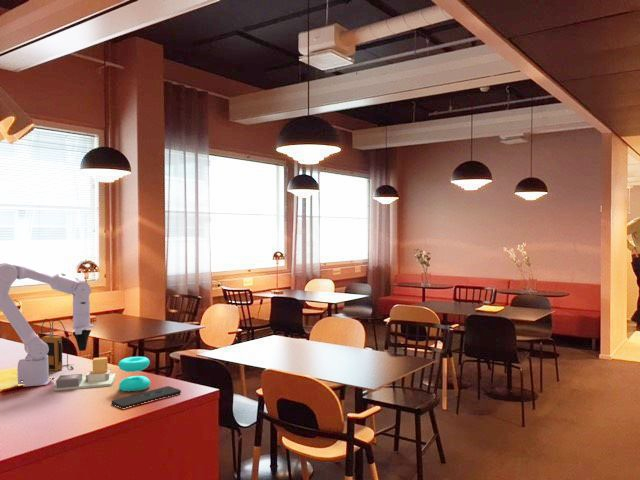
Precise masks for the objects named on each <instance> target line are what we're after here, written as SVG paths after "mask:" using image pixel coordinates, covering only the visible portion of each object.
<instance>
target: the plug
mask: <svg viewBox="0 0 640 480" xmlns="http://www.w3.org/2000/svg"><path fill="white" fill-rule="evenodd" d="M108 363H109V361H108V357H106V356H103V357H102V356H101V357H94V358H93V359H92V371H93V374H102V373H106V372H108V370H109V367H108V365H109V364H108Z"/></svg>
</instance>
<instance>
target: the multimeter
mask: <svg viewBox="0 0 640 480" xmlns="http://www.w3.org/2000/svg"><path fill="white" fill-rule="evenodd" d="M45 321H48V322H49V335H45V336H44V335H43V326H44V323H45ZM55 321H56V319H53V321H52V323H51V322H50V320H49V319H48V318H45V319H44V320H43V322H42V324H41V330H40V331H41V340H42V341H43V342H45V343H46V344H47V345H48V347H49V351H48V353H47V355H48V368H49V371H55V372H58V371H62V370H63V367H66V368H67V370H68V371H70V370H71V371H72V370H73V369H74V366H73V365H75V363H72V364H71V363H70V364H69V363H68V362H69V350H67V355H66V364H63V342H62V341H63V339H62V336H61V335H54V334H55V333H54V322H55ZM57 321H58V322H59V323H61V325H62V328H63V330H64V333H65V338H66V342H67V345H69V341H68V334H67V331H66V328H65V327H64V324H63V322H62V321H61V320H60V319H57ZM69 366H70V368H69Z"/></svg>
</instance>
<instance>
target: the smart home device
mask: <svg viewBox="0 0 640 480" xmlns="http://www.w3.org/2000/svg"><path fill="white" fill-rule="evenodd" d="M180 393H181V394H182V390H181V389H179V388H175V387H173V386H170V385H168V386H162V387H159V388H155V389H150V390H146V391H143V392H139V393H135V394H132V395H128V396H124V397H123V396H122V397H120V398H117V399H116V398H115V399H113V400H111V402H110V403H111V405H112V404H113V405H112V406H114V405H116V406H119V407H121V408H126V407H129V406H133V405H137V404H141V403H144V402H148V401H151V400H155V399H159V398H163V397H168V396H172V395H176V394H179V395H181V394H180ZM176 396H177V395H176ZM172 397H173V396H172ZM116 406H115V407H116ZM121 408H120V409H121Z"/></svg>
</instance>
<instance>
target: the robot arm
mask: <svg viewBox="0 0 640 480" xmlns="http://www.w3.org/2000/svg"><path fill="white" fill-rule="evenodd" d="M66 275H67V274H65V273H61V274H60V273H56V274H54V275H51V274H47V273H45V272H41V271H39V270H36V269H33V268H29V267H26V266H22V265H21V266H20V265H15V264H11V263H10V264H9V263H0V310H1V312H2V314H3V315H4V316H5V318H6V319H7V321H8V322H9V324H10V325H11V326H12V328H13V329H14V331H15V332H16V334H17V336H18V337H19V338H20V340H21V342H22V343H23V345H24V351H25V352H26V353H27V355H26V356H25V357H24V359H19V360H18V362H17V385H18V384H25V385H23V387H22V388H25V387H36V386H37V387H38V386H47V385H48V384H50V382H51V381H52V380H53V378H52V377H50V376H49V374H50V373H49V371H50V370H49V368H48V355H47V353H48V351H49V347H48V345H47V344H46V343H45V342H43V341H42V338H41V337H40V336H39V335H37V334H36V332H35V331H34V329H33V328H32V326H31V325H30V324H29V322H28V320H27V319H26V318H25V316H24V315H23V314H22V312H21V310H20V309H19V308H18V306H17V305H16V303H15V301H14V300H13V299H12V298H11V296H10V294H9V293H10V289H11V287H12V284H14V282H15V281H16V280H24V279H29V280H33V281H38V282H40V283H45V284H48V285H49V286H50V287H51V289H52V290H55V291H58V292H61V293H65V294H66V295H67V294H68V295H70V294H71V295H72V323H73V326H72V329H73V330H74V331H73V332H72V335H73V337H74V338H75V341H76V345H77V348H78V351H79V352H85V351H86V349H87V347H88V340H89V337H90V333H91V332H92V329H90V328H94V324H91V308H90V307H91V306H90V295H91V293H92V288H91V286H90V284H89V283H88V282H86V281H82V280H80V279H79V278H76V277H75V278H73V277H69V276H66ZM49 378H51V379H49ZM21 381H23V382H21Z"/></svg>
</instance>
